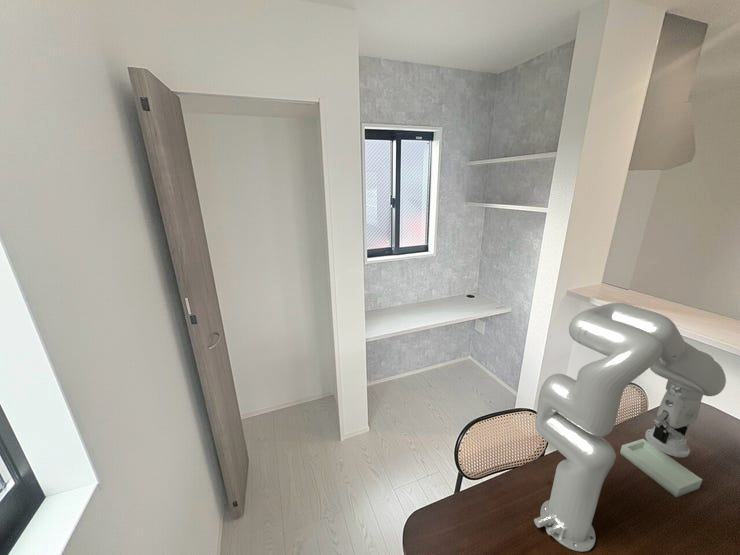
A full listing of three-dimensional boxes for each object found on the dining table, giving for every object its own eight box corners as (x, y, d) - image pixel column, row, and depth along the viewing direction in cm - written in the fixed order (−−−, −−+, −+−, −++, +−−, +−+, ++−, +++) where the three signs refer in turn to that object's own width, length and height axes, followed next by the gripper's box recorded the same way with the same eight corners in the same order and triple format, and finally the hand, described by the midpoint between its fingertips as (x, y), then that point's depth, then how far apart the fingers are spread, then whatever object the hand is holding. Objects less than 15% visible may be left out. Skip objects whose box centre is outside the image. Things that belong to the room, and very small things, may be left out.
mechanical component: (658, 455, 89) (698, 460, 87) (662, 443, 88) (702, 449, 86) (637, 429, 99) (672, 434, 97) (640, 419, 97) (676, 423, 95)
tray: (676, 497, 88) (679, 488, 87) (619, 453, 102) (622, 445, 101) (699, 488, 90) (702, 479, 89) (640, 446, 105) (643, 438, 104)
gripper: (679, 403, 82) (662, 453, 87) (721, 391, 86) (702, 439, 91) (648, 387, 89) (634, 434, 94) (688, 376, 93) (673, 422, 98)
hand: (668, 436), depth 92 cm, fingers closed on mechanical component, 7 cm apart
